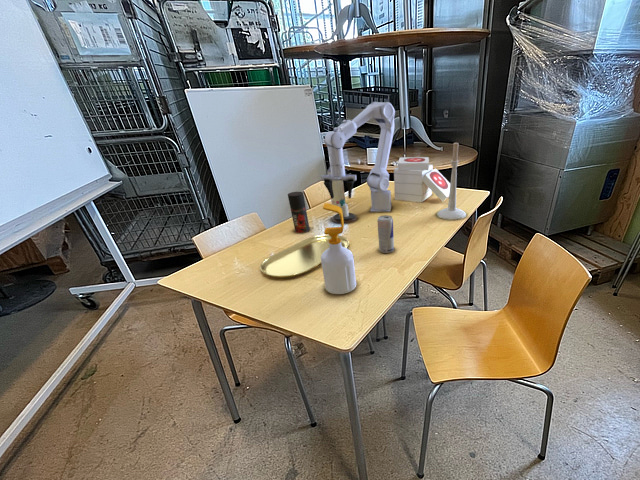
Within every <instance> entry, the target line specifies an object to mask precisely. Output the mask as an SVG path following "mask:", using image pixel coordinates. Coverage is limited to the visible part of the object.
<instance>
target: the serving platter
mask: <svg viewBox="0 0 640 480" xmlns="http://www.w3.org/2000/svg"><path fill="white" fill-rule="evenodd" d="M337 238H340V239H341V245H342V247H345V248H347V249H348V248H349V246H350V241H349V239H348V238H347V237H346V236H343V235H340V234H339V235H338V236H337ZM329 239H331V236H329V234H327V235H326V234H319V235H313V236H311V237H308V238H305V239H303V240H301V241H299V242H297V243H295V244H292V245H291V246H289V247H287V248H284V249H283V250H281V251H278V252H276V253H274V254H273V255H269V257H266V258H265V259H264V260H263V261H262V262H261V263H260V265H259V268H260V271H261V272H262V273H263V274H264V275H266V276H268V277H270V278H275V279H276V278H277V279H288V278H294V277H298V276H301V275H305V274H307V273H309V272H311V271H312V270H314V269H316V268H318V267H319V266H322V263H321V255H322V254H323V252H324V251H325V250H327V249H328V248H330V247H329Z"/></svg>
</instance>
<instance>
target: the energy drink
mask: <svg viewBox="0 0 640 480" xmlns="http://www.w3.org/2000/svg"><path fill="white" fill-rule="evenodd" d="M376 222H377V237H378V239H377V240H378V250H379V252H380V253H383V254H390V253H393V252H394V250H395V240H394V237H395V236H394V235H395V234H394V218H393V216H392V215H387V214H384V215H379V216H378V217H377V219H376Z"/></svg>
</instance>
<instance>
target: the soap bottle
mask: <svg viewBox="0 0 640 480" xmlns="http://www.w3.org/2000/svg"><path fill="white" fill-rule="evenodd" d="M322 209H323V210H326V211H329V212H333V213H336V214H339V215H340V219H341V224H340V226H332V227H326V228H324V233H323V235H329V236H331V239H329V247H330V248H328V249H327V250H325V251H324V252H323V254H322V255H321V263H322V264H321V268H322V274H323V280H324V286H325V290H326V292H328V293H330V294H332V295H333V294H334V295H344V294H348V293H351V292H353V290H355V289H356V286H357V277H356V268H355V260H354V259H355V258H354V254H353V253H352V251H351V250H350V249H348V248H345V247H342V245H341V239H340V238H337V236H338V235H339V236H340V234H342V233H343V232H344V228H345V224H344V220H343V211H342V209H341V208H340V207H339V206H336V205H332V203H327V202H324V204H323V206H322Z"/></svg>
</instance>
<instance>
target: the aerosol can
mask: <svg viewBox="0 0 640 480" xmlns="http://www.w3.org/2000/svg"><path fill="white" fill-rule="evenodd" d="M326 171H327V175H331V167H330V166H329V167H328V169H327V170H326ZM332 187H333V194H334V198H333V199H331V198H330V202H331V203H330V204H332V205H336V206H338V205H339V203H340V202H339V201H340V200H341V199H345V200H346V194H345V186H344V180H337V181H332Z"/></svg>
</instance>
